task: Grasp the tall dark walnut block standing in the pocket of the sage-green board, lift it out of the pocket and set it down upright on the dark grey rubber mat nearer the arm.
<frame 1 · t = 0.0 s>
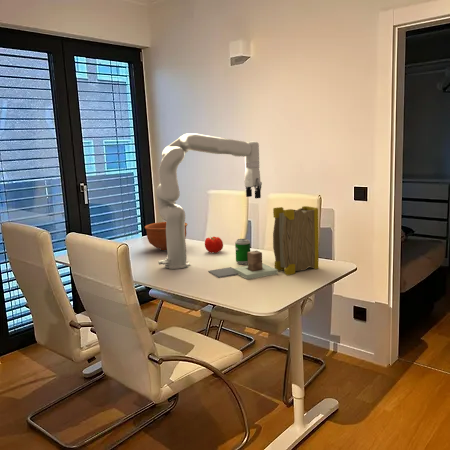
hand: (253, 197, 254), 31 cm above the table, fingers open, 9 cm apart
rubber mat: (225, 272, 224), on the table
soda can: (243, 263, 242), on the table
decorative book: (296, 270, 224), on the table
bowl: (167, 249, 279), on the table
walnut block: (255, 273, 222), resting in pocket board
pocket board: (255, 272, 222), on the table
tomato: (214, 252, 267), on the table
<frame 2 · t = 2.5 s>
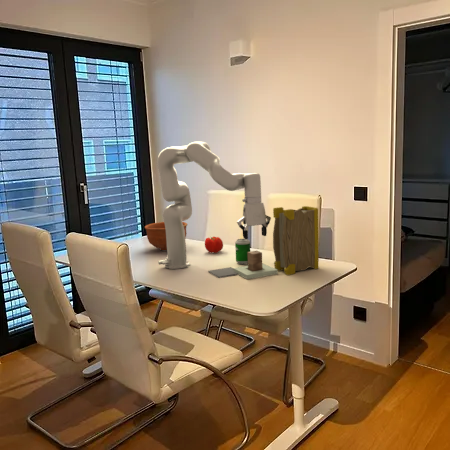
hand: (255, 237, 219), 17 cm above the table, fingers open, 9 cm apart
nothing on the table moved.
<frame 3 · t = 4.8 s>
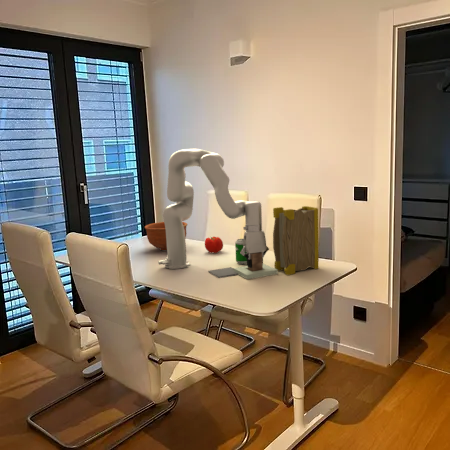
hand: (255, 265, 221), 3 cm above the table, fingers closed on walnut block, 5 cm apart
walnut block: (255, 273, 222), resting in pocket board, touching gripper
everything else where it was.
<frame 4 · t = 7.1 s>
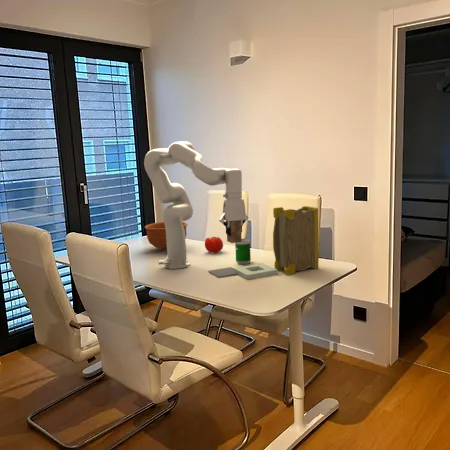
hand: (234, 234, 220), 19 cm above the table, fingers closed on walnut block, 5 cm apart
walnut block: (234, 241, 221), point 15 cm above the table, touching gripper
everything else where it was.
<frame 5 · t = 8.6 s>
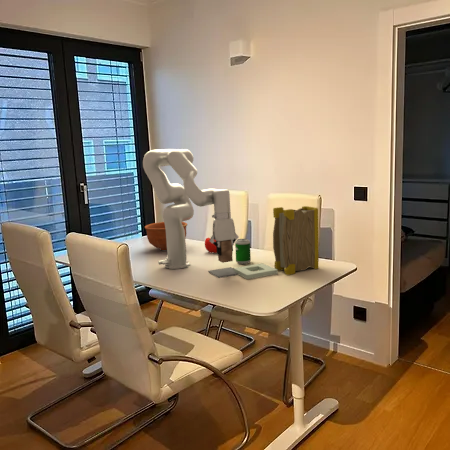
hand: (225, 253, 222), 9 cm above the table, fingers closed on walnut block, 5 cm apart
walnut block: (225, 260, 223), point 6 cm above the table, touching gripper
everything else where it was.
when the fingers open (5 cm above the table, at t = 9.9 s): walnut block drops 1 cm, resting on rubber mat.
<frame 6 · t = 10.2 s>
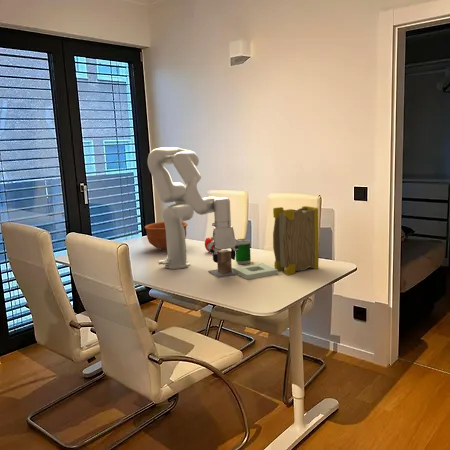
hand: (224, 260, 223), 6 cm above the table, fingers open, 8 cm apart
walnut block: (224, 271, 224), point 1 cm above the table, touching rubber mat
everything else where it was.
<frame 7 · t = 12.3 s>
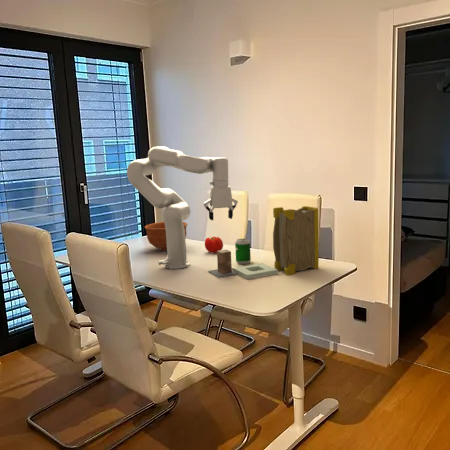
hand: (221, 219, 228), 25 cm above the table, fingers open, 9 cm apart
nothing on the table moved.
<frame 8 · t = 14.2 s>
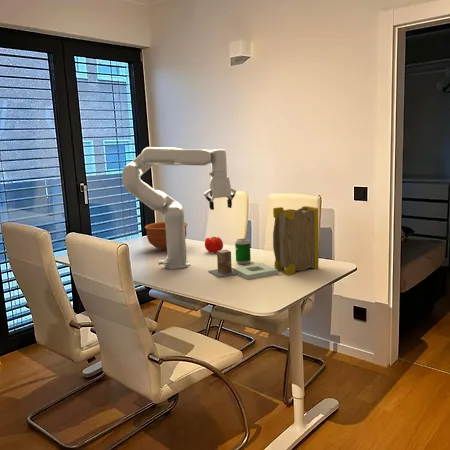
hand: (220, 208, 237), 28 cm above the table, fingers open, 9 cm apart
nothing on the table moved.
at the end: walnut block inside the target area on the rubber mat (0.1 cm from its centre), point 0.6 cm above the rubber mat's base; walnut block tilted 0°; the gripper is holding nothing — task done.
